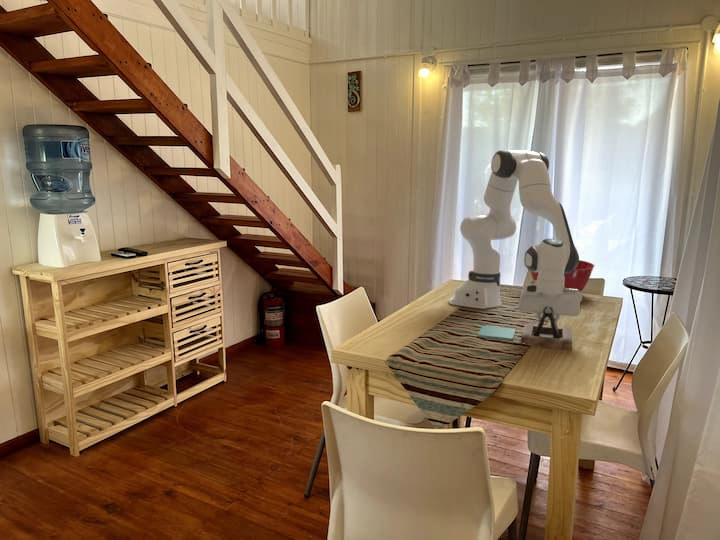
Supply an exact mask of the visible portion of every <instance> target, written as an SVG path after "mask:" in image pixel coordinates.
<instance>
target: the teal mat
mask: <svg viewBox="0 0 720 540" xmlns="http://www.w3.org/2000/svg"><path fill="white" fill-rule="evenodd" d="M516 329H517V328H511V327H500V326H490V325H482V326H481V328H480V329H479V331H478V333H477V337H478V336H479V337H478V338H483V337H487V338H486V339H493V338H498V339H497V340H502V339H507V340H506V341H511V340H513V341H514V337H515V335H516V332H515V331H517V330H516ZM514 334H515V335H514Z"/></svg>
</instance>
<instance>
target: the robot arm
mask: <svg viewBox="0 0 720 540" xmlns="http://www.w3.org/2000/svg"><path fill="white" fill-rule="evenodd" d="M490 163H491V165H490V166H491V167H490V168H491V173H490V177H489V179H488V182H487V186H486V189H485V192H484V196H483V201H484V204H485V205H486V206H487V207H488V208H489V212H488V213H487V214H474V215H470V216H467V217H464V218H463V220H462V221H461V222H460V226H459V227H460V229H459V230H460V234H461V236H462V238H463V239H464V240H466V241H467V242H468V244H469V246H470V247H471V250H472V254H473V269H470V271H468V275H467V278H468V279H467V280H466V281H464V282H463V283H461V284H460V285H458V286H457V288H456V289H455V291H454V296H451V297H450V298H449V300H448V303H449V304H450V305H454V306H459V307H460V306H461V307H467V308H475V309H482V310H483V309H488V308H490V309H491V308H496V307H500V306H502V305H503V303H502V300H501V293H500V292H501V291H500V284H501V272H500V267H501V255H500V253H499V252H498V251H497V250H496V249H494V248H493V246H492V242H491V241H495V240H496V241H497V240H505V239H508V238H511V237H513V236H514V235H515V233H516V230H517V222H516V219H515V218H514V217H513V216H512V214H511V204H512V199H513V196H514V194H515V191H516V190H515V189H516V187H517V183H518V192H519V193H518V194H519V200H520V203H521V206H522V207H523V209H525V210H526V211H527V212H528V213H530V214H532V215H535V216H538V217H540V218H543V219H545V220H546V221H548V222H549V223H550V224H551V226H552V228H553V231H554V234H555V238H546V239H545V238H544V239H542V240H541V242H540V244H537V245H534V246H530V247H529V248H528V249H527V250H526V251H525V253H524V259H523V261H524V262H523V263H524V266H525V268H527V270H528V271H530V273H531V272H538V277H537V280H535V281H534V280H529V281H526V282H524V284H523V286H522V287H523V288H522V291H521V293H520V296H519V299H518V305H517V309H518V310H519V312H524V313H525V312H526V313H536V317H537V319H538V324H539V323H540V321H541V317H542V314H543V313H544V312H543V311H544V308H545V307H547V308H546V309H545V313H546V314H551V313H552V310H551V309H550V307H551V308H552V309H553V313H552V314H554V317H555V320H554V322H555V325H556V323H557V322H558V321H559V320H560V316H567V317H578V316H579V315H580V314H581V305H580V304H581V302H582V300H583V292H582V291H579V290H578V289H570V288H564V281H565V277H564V273H567V274H569V273H571V272H572V271H573V270H574V269H575V268H576V267H577V266H578V264H579V260H580V256H579V255H580V254H579V251H578V250H577V247H576V246H575V243H574V240H573V237H572V233H571V229H570V226H569V223H568V219H567V216H566V213H565V210H564V209H565V208H564V207H563V204H561V203H560V202H559V201H557V199H556V197H555V196H554V194H553V192H552V186H551V185H552V184H551V178H550V175H549V171H548V170H549V168H550V161H549V158H548V156H547V154H545V153H543V152H540V151H531V150H527V149H526V150H524V149H521V150H518V149H513V150H511V149H509V150H508V149H501V150H497V151H496V152H495V153H494V155H493V156H492V159H491V162H490ZM544 325H545V322H544V323H543V326H544Z"/></svg>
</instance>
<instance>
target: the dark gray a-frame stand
mask: <svg viewBox="0 0 720 540" xmlns="http://www.w3.org/2000/svg"><path fill="white" fill-rule="evenodd" d="M546 308H547V307H545V308H544V311H543V312H544V313H542V314H541V316H540V317H541V321H539V322H540V323H539V322H538V323H537V324H538V326H537V328H536V330H535V332H534V333H533V334H532V336H539V337H549V338H558V339H561V336H560V333H559V330H558V327H557V326H558V324H557V322H556V325H555V322H554V320H555V318H556V317H555V314H552V313H553V309H552V308H551V307H550V309H551V310H552V313H551V314H546V313H545V309H546ZM546 318H549V323H550V325H551V327H552V332H553V335H550V334H541V333H540V331H541V329H542V326H543V323H544V324H545V320H546Z"/></svg>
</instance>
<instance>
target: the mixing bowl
mask: <svg viewBox="0 0 720 540" xmlns="http://www.w3.org/2000/svg"><path fill="white" fill-rule="evenodd" d="M594 268H595V264H593V263H592V262H589V261H586V260H580V259H579V264H578V266H577V267H576V268H575V269H574V270H573V271H572V272H571V273H569V274H567V273H564V277H565V281H564V288H570V289H578V290H579V291H581V292H582V291H583V290H584V289H585V287H586V285H587V284H588V282H589V280H590V278H591V276H592V272H593V271H594ZM530 274H531V276H532V279H533V280H532V281H535V280H537V277H538V272H531V271H530Z"/></svg>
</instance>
